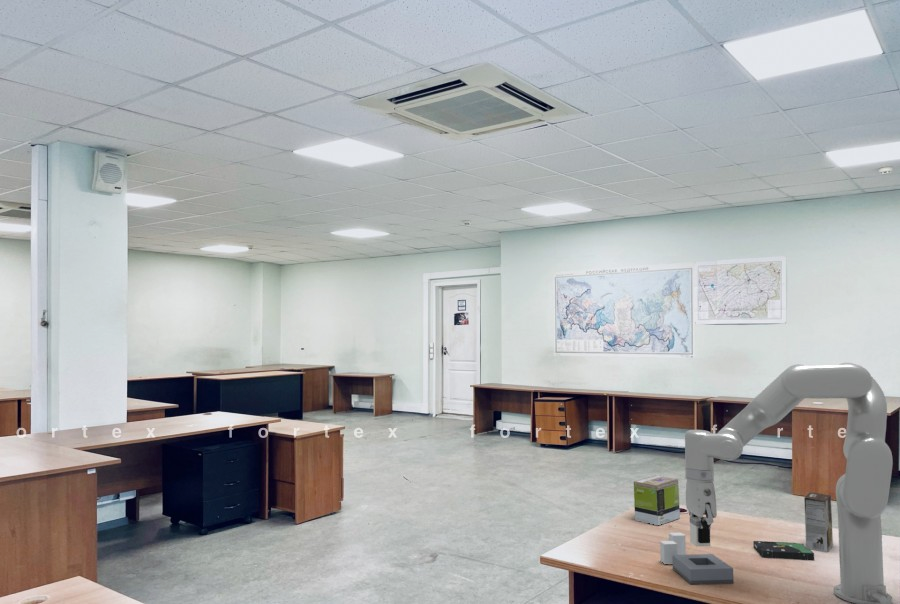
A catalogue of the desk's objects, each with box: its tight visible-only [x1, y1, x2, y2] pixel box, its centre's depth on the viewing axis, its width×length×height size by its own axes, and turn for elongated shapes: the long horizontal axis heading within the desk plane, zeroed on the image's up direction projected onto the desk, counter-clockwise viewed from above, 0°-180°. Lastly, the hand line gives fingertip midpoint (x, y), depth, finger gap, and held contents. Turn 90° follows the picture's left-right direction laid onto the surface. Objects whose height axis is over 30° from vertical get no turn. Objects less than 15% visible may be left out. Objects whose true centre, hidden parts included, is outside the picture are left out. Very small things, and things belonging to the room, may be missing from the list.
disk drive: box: [753, 540, 815, 561], centre depth 202 cm, size 10×3×15 cm
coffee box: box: [804, 491, 834, 553], centre depth 209 cm, size 9×6×16 cm
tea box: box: [633, 475, 681, 526], centre depth 241 cm, size 15×10×15 cm
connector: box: [689, 516, 711, 547], centre depth 184 cm, size 4×4×7 cm
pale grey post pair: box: [659, 532, 687, 565], centre depth 198 cm, size 11×10×6 cm
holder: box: [672, 553, 734, 585], centre depth 183 cm, size 12×12×4 cm
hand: (700, 539), depth 184 cm, fingers closed on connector, 4 cm apart
